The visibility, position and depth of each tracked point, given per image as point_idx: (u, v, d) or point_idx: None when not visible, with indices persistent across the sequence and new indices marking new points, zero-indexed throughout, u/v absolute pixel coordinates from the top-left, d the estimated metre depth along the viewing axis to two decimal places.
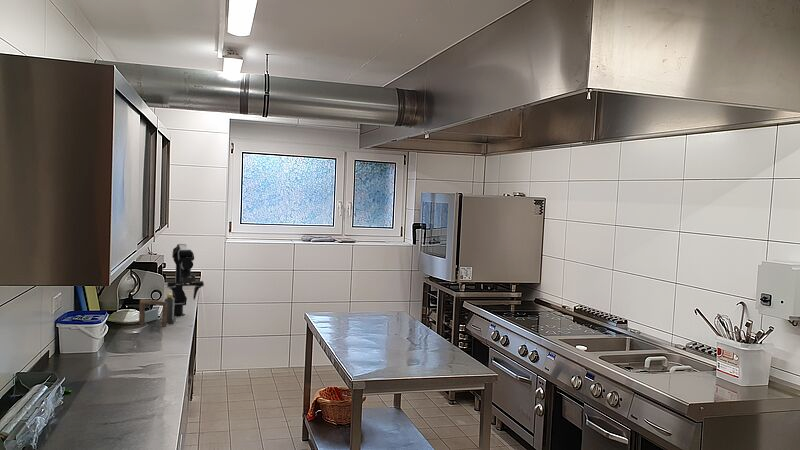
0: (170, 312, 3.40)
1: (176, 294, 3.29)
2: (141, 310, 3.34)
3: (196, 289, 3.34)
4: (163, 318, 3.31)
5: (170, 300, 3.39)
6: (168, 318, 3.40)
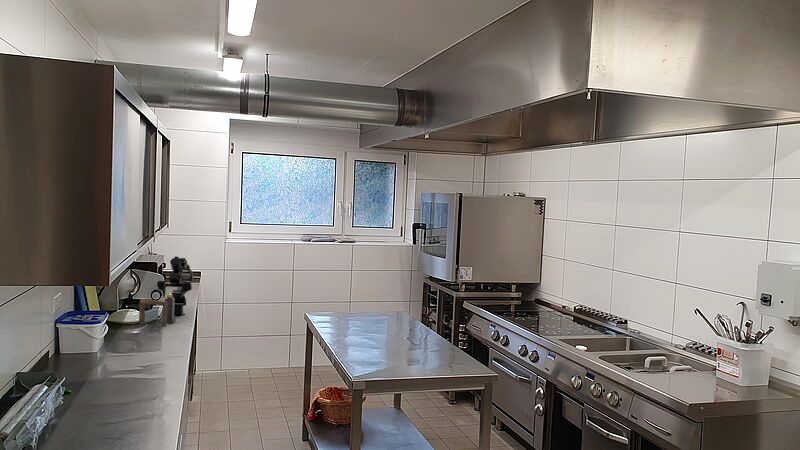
0: (170, 312, 3.40)
1: (164, 291, 3.47)
2: (141, 310, 3.34)
3: (183, 288, 3.50)
4: (163, 318, 3.31)
5: (170, 300, 3.39)
6: (168, 318, 3.40)
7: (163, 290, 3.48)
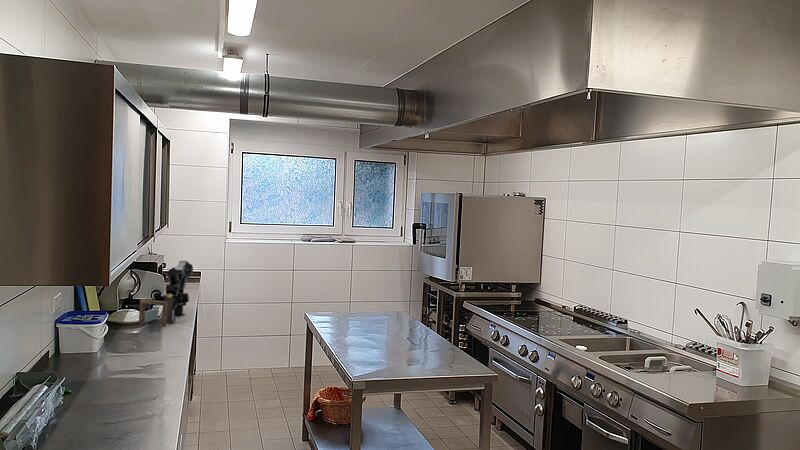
0: (170, 312, 3.40)
1: None
2: (141, 310, 3.34)
3: (176, 299, 3.43)
4: (163, 318, 3.31)
5: (170, 300, 3.39)
6: (168, 318, 3.40)
7: None
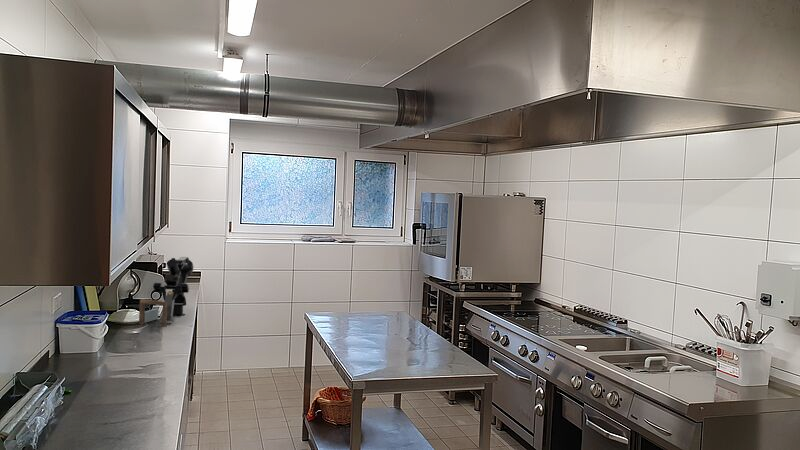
0: (169, 308, 3.39)
1: (164, 294, 3.41)
2: (141, 310, 3.34)
3: (176, 290, 3.43)
4: (163, 318, 3.31)
5: (170, 296, 3.41)
6: (167, 314, 3.38)
7: (163, 292, 3.41)
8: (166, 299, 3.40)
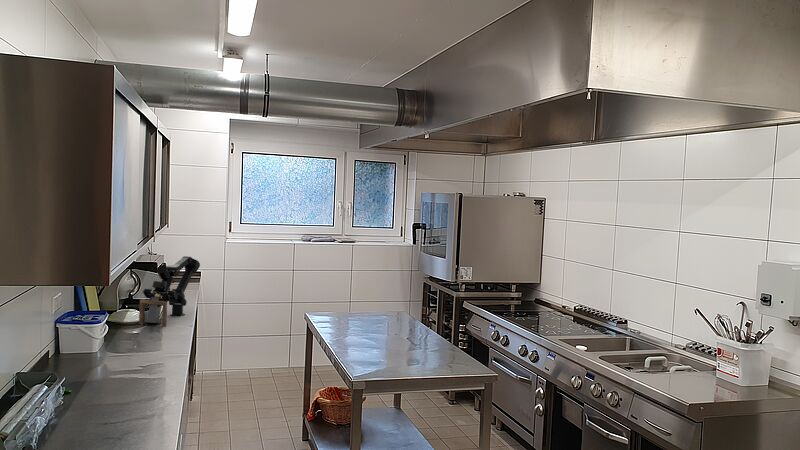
0: (154, 311, 3.35)
1: None
2: (141, 310, 3.34)
3: (163, 297, 3.39)
4: (163, 318, 3.31)
5: (156, 298, 3.37)
6: (152, 317, 3.35)
7: None
8: None
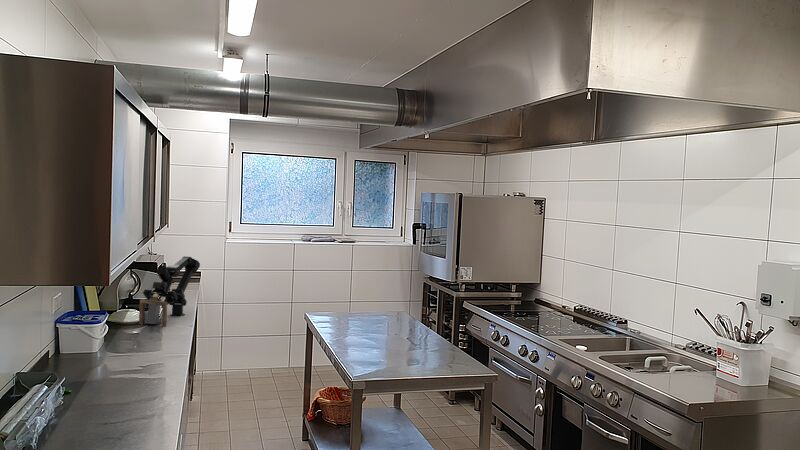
0: (153, 312, 3.34)
1: None
2: (141, 310, 3.34)
3: (166, 298, 3.39)
4: (163, 318, 3.31)
5: (154, 299, 3.35)
6: (151, 318, 3.34)
7: (148, 299, 3.39)
8: None
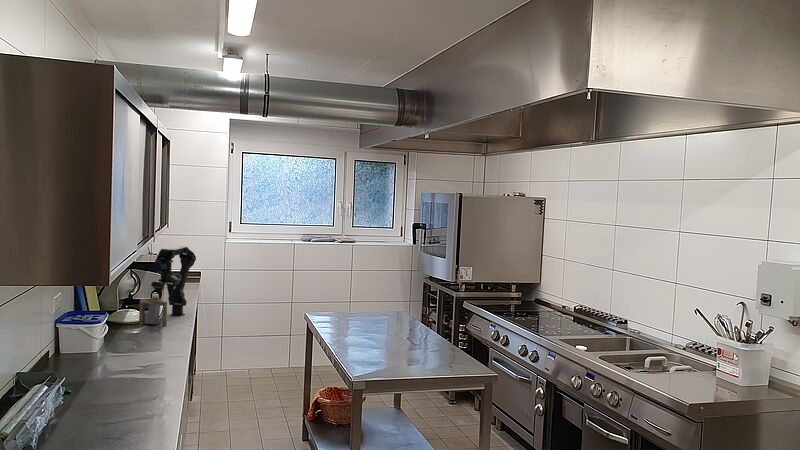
0: (153, 312, 3.34)
1: (161, 293, 3.44)
2: (141, 310, 3.34)
3: (173, 286, 3.54)
4: (163, 318, 3.31)
5: (154, 299, 3.35)
6: (151, 318, 3.34)
7: (161, 292, 3.43)
8: None
